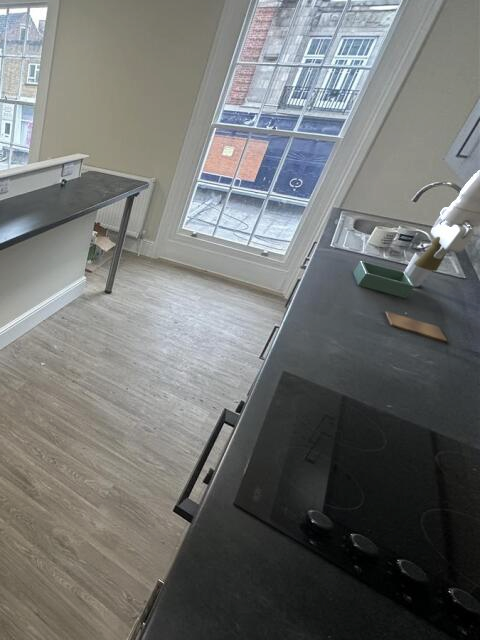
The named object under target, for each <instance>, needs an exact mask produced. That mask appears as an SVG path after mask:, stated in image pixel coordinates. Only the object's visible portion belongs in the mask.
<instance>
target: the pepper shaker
mask: <svg viewBox="0 0 480 640" xmlns="http://www.w3.org/2000/svg"><path fill="white" fill-rule="evenodd" d="M439 241H440V237H436V238H433V239H432V241H431V245H430V246H429V247H428V248H427V249H426V250H425V251H424V252H422V253H423V254H422V255H421V256H420V257H419V258H418V259H417V260H416V261H415V262H414V264H415V265H416V266H418V267H421V268H423V269H427V270H432V272H434V271H435V272H436V271H438V269H439V267H440V266H441V264H442V262H443V260H444V259H445V256H446V254H447V253H446V254H445V255H444V256H443V257H442V258H441V259H438V258H435V257H434V254H435V252H438V251H439V250H440V247H441V246H442V245H441V244H440V243H439Z"/></svg>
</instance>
